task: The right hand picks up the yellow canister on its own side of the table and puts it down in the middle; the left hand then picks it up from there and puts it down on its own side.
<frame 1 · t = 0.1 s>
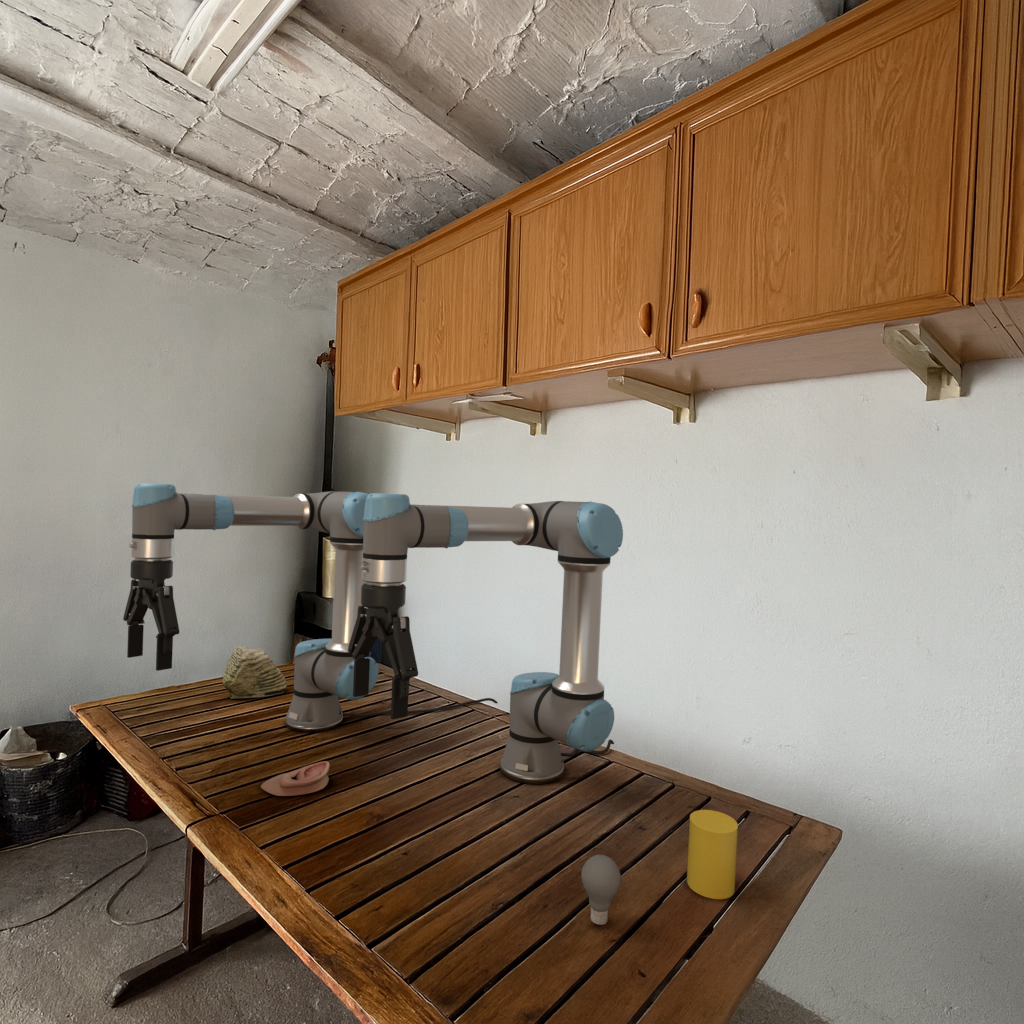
left hand: (148, 662, 129), 28 cm above the table, tool pointing down, fingers open, 13 cm apart
right hand: (378, 706, 109), 28 cm above the table, tool pointing down, fingers open, 13 cm apart
fossil: (254, 694, 198), on the table
canister: (710, 885, 108), on the table
light bulb: (598, 923, 97), on the table
anatomical model: (295, 785, 138), on the table
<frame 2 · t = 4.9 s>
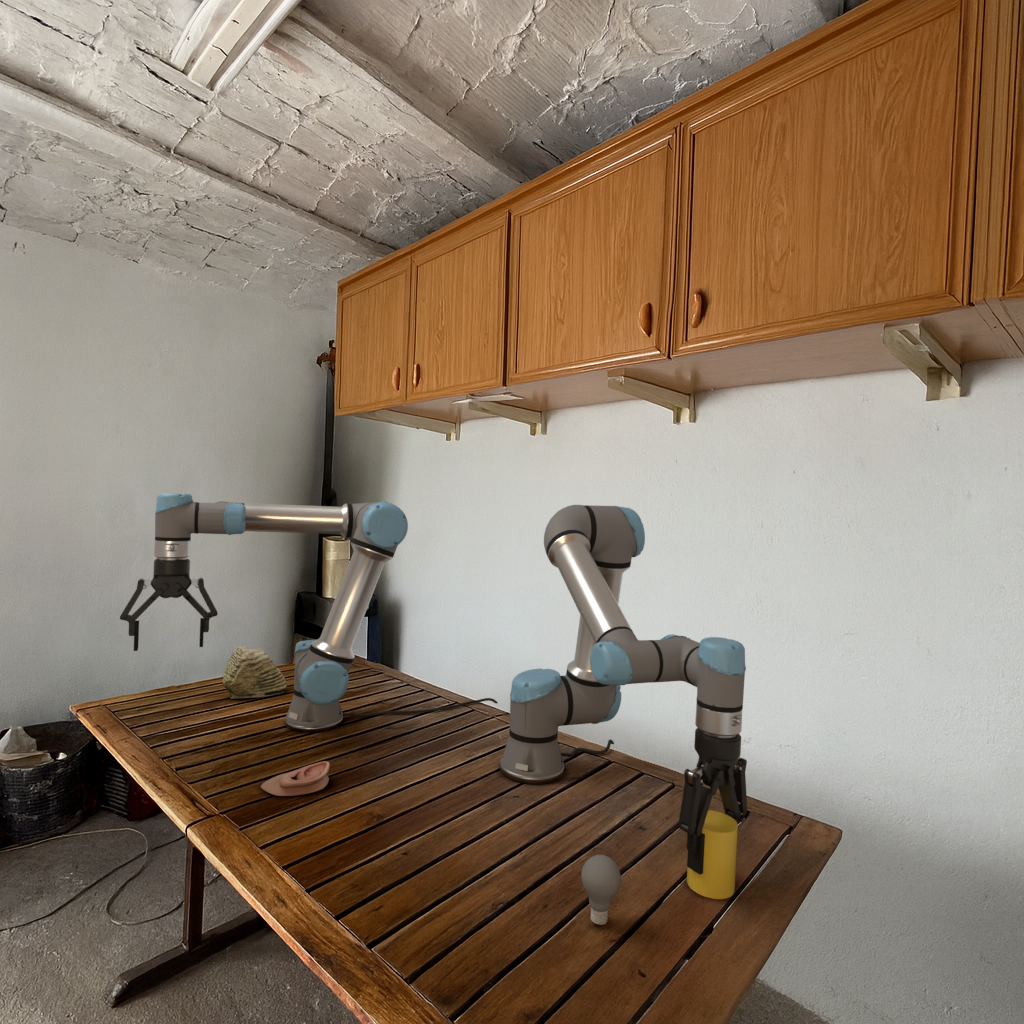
left hand: (169, 647, 150), 26 cm above the table, tool pointing down, fingers open, 13 cm apart
right hand: (711, 862, 108), 4 cm above the table, tool pointing down, fingers closed on canister, 8 cm apart
canister: (710, 885, 108), on the table, touching right hand
everything else where it was.
when the right hand's fingers open (6 cm above the table, at t = 15.9 s): canister drops 2 cm, on the table.
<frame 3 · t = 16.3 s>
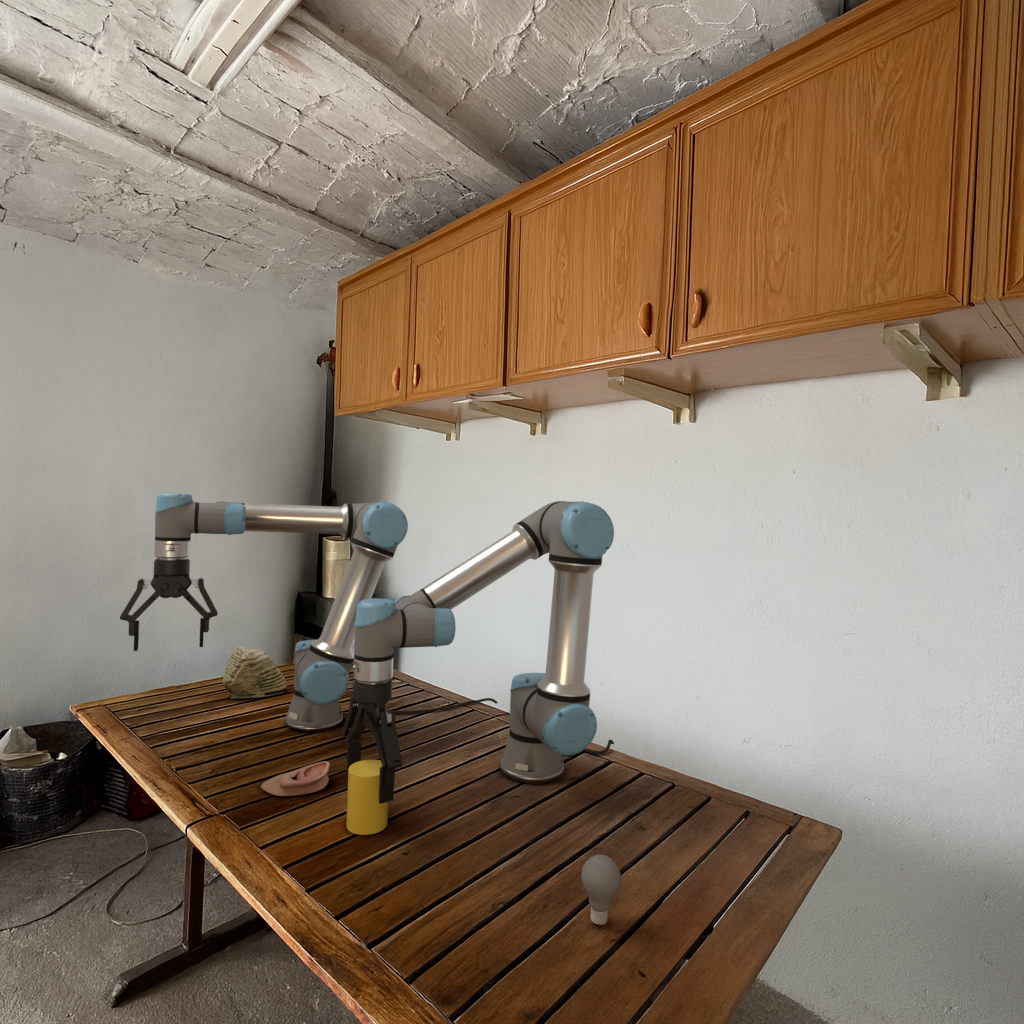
left hand: (169, 647, 150), 26 cm above the table, tool pointing down, fingers open, 13 cm apart
right hand: (368, 787, 123), 7 cm above the table, tool pointing down, fingers open, 13 cm apart
canister: (367, 824, 123), on the table
everything else where it was.
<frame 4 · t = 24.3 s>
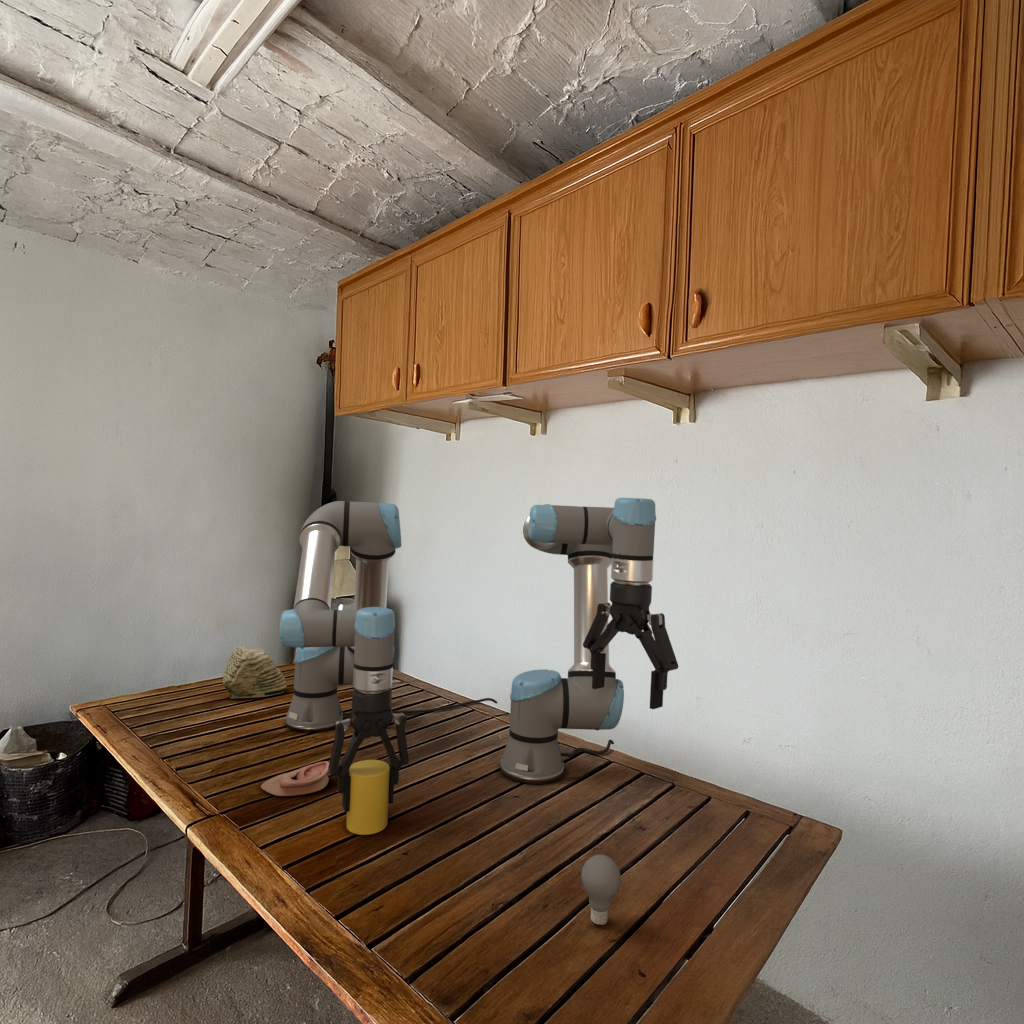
left hand: (367, 804, 123), 4 cm above the table, tool pointing down, fingers closed on canister, 8 cm apart
right hand: (625, 697, 116), 29 cm above the table, tool pointing down, fingers open, 13 cm apart
canister: (367, 824, 123), on the table, touching left hand
everything else where it was.
when the left hand's fingers open (6 cm above the table, at t = 32.2 s): canister drops 2 cm, on the table.
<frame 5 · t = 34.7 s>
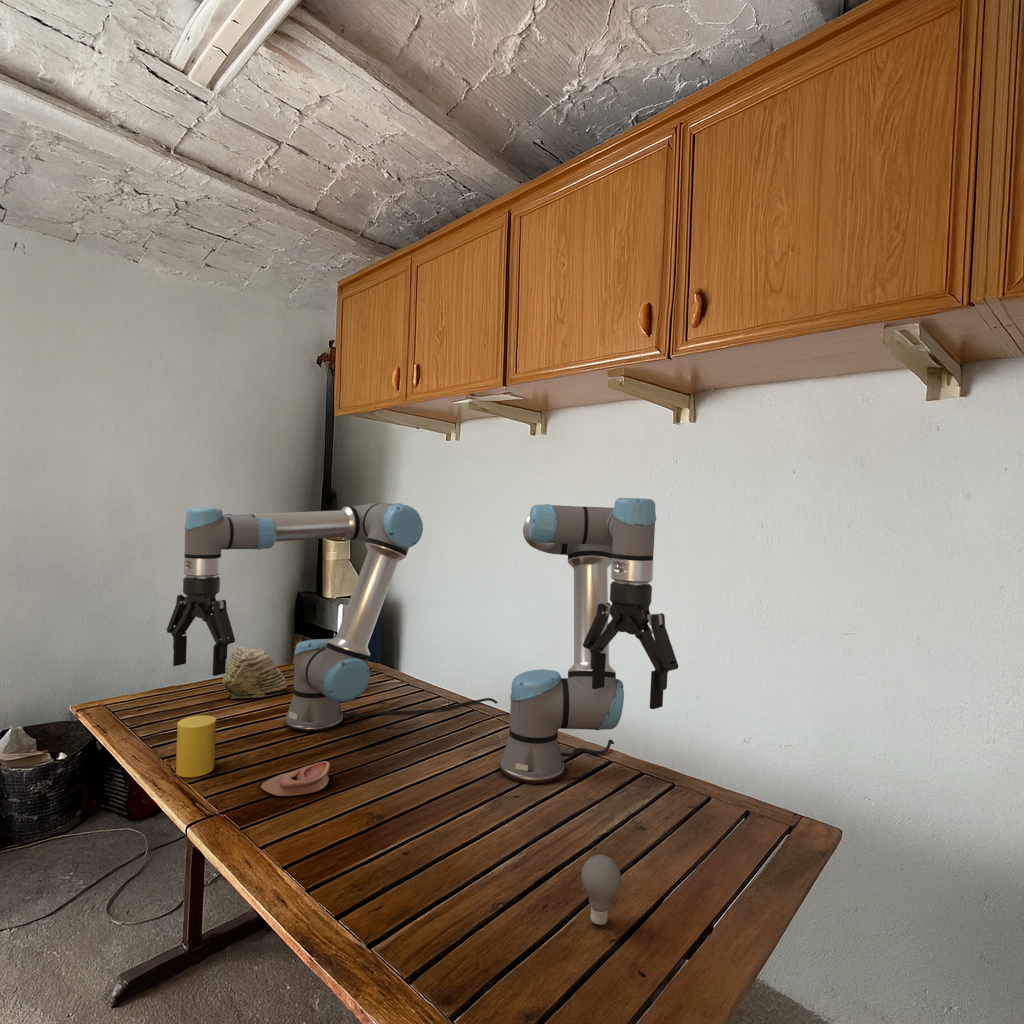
left hand: (198, 669, 144), 23 cm above the table, tool pointing down, fingers open, 13 cm apart
right hand: (625, 697, 116), 29 cm above the table, tool pointing down, fingers open, 13 cm apart
canister: (195, 769, 144), on the table
everything else where it was.
at the end: canister inside the target area (0.0 cm from its centre), on the table; canister tilted 0°; the two hands never held the canister at the same time; the left hand is holding nothing; the right hand is holding nothing; canister at rest at the end (0.0 cm/s) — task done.
